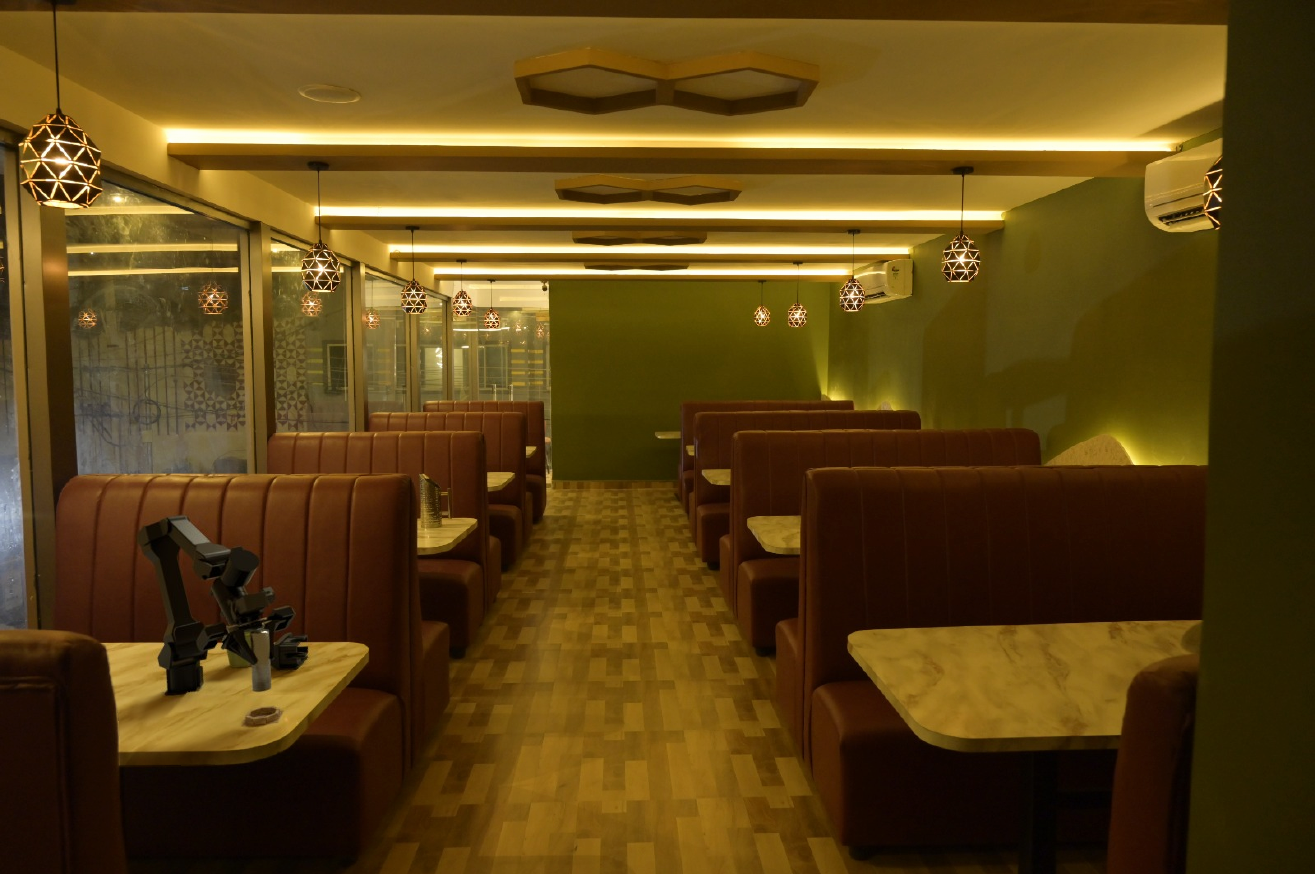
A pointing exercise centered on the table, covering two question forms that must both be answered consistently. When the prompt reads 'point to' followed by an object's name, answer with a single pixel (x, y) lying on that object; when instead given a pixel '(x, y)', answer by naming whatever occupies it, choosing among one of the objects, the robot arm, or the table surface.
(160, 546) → the robot arm
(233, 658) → the plant pot
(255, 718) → the ring stand
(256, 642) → the peg
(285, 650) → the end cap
